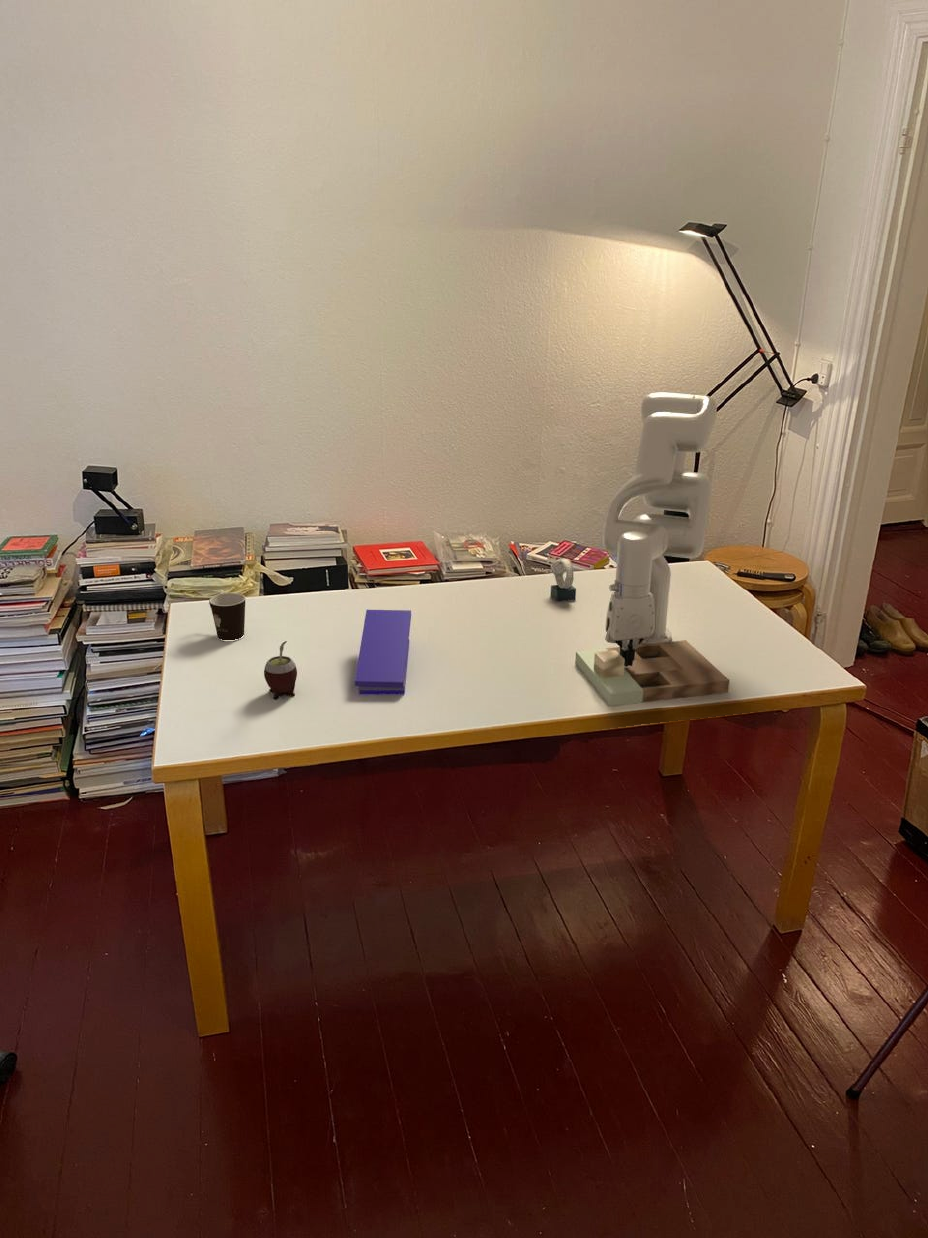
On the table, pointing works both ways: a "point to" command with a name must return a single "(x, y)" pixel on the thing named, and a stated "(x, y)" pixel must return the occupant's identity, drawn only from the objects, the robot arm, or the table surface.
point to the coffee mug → (228, 615)
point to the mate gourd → (281, 675)
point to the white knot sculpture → (563, 588)
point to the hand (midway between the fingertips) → (626, 663)
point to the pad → (609, 681)
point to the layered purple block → (384, 652)
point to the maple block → (609, 664)
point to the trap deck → (674, 671)
